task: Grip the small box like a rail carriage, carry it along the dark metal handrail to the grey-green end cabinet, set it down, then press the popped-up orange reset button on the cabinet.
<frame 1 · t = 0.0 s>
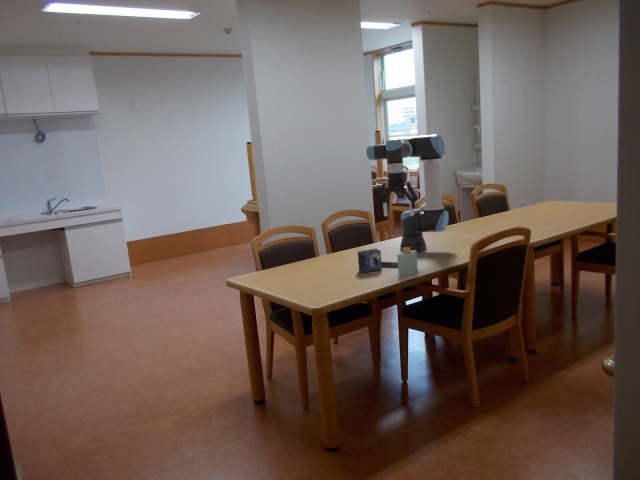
hand: (398, 216, 264), 28 cm above the table, fingers open, 13 cm apart
reset button: (406, 253, 265), point 10 cm above the table, slide at 0.0 cm
small box: (370, 271, 278), on the table
end cabinet: (408, 272, 267), on the table
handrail: (389, 266, 283), on the table
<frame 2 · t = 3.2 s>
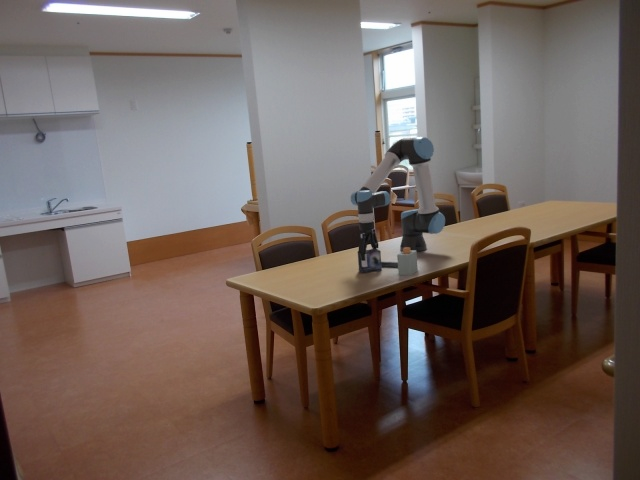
hand: (369, 263, 277), 4 cm above the table, fingers closed on small box, 11 cm apart
small box: (370, 271, 278), on the table, touching gripper
everything else where it was.
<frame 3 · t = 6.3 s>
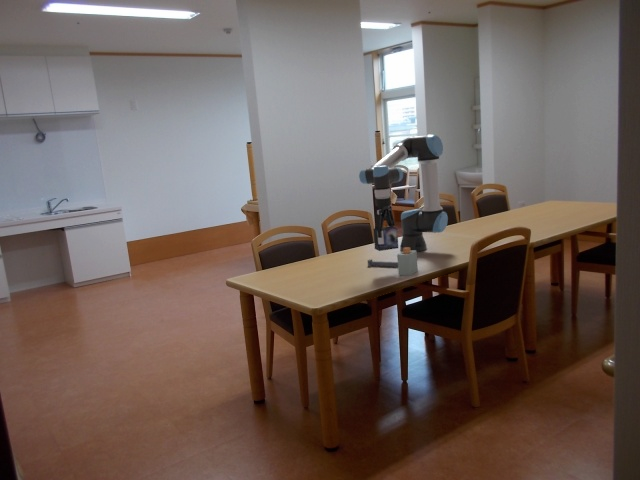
hand: (386, 241, 270), 15 cm above the table, fingers closed on small box, 11 cm apart
small box: (386, 249, 271), point 12 cm above the table, touching gripper
everything else where it was.
when the fingers open (5 cm above the table, at t = 9.2 s): small box stays where it is, on the table.
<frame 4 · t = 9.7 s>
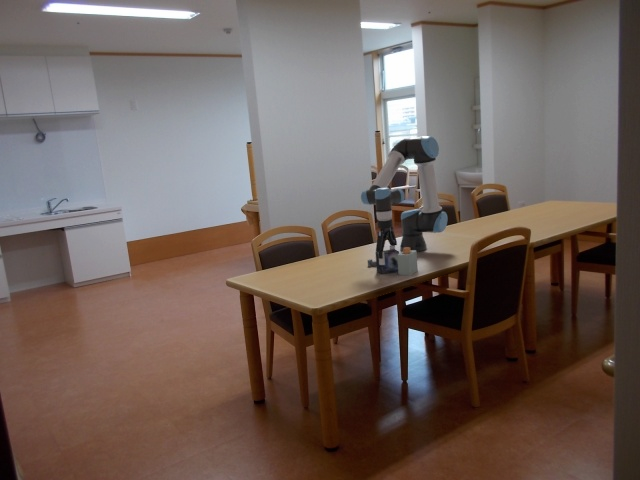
hand: (387, 261, 272), 5 cm above the table, fingers open, 13 cm apart
small box: (388, 272, 273), on the table
everything else where it was.
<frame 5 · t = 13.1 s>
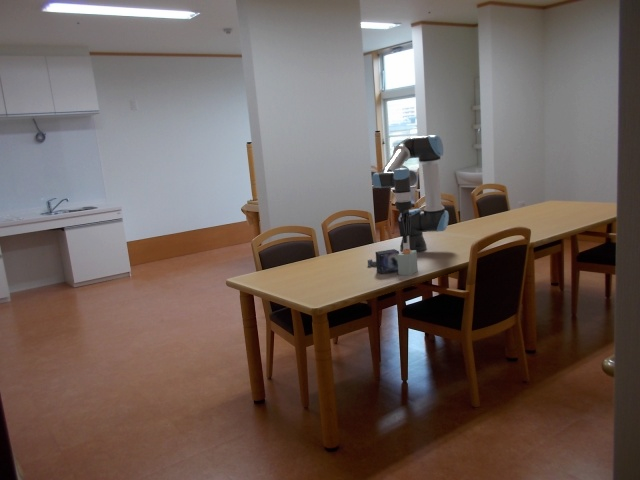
hand: (406, 249, 265), 12 cm above the table, fingers closed
reset button: (407, 254, 266), point 9 cm above the table, slide at 0.8 cm, touching gripper
everything else where it was.
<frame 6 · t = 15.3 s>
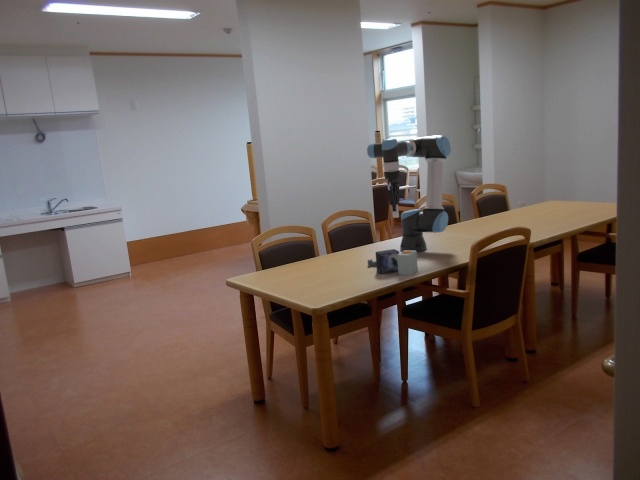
hand: (395, 217, 274), 26 cm above the table, fingers closed
reset button: (407, 256, 266), point 8 cm above the table, slide at 1.7 cm
everything else where it was.
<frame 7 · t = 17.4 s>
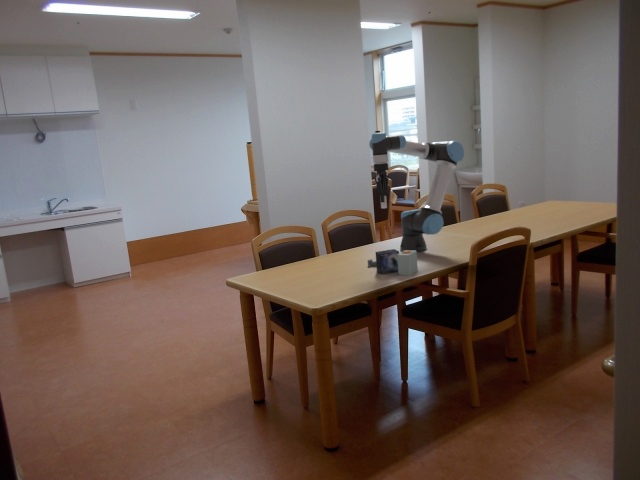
hand: (384, 208, 286), 29 cm above the table, fingers closed
nothing on the table moved.
at the end: small box inside the target area (0.8 cm from its centre), on the table; reset button slide at 1.7 cm; the gripper is holding nothing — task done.
